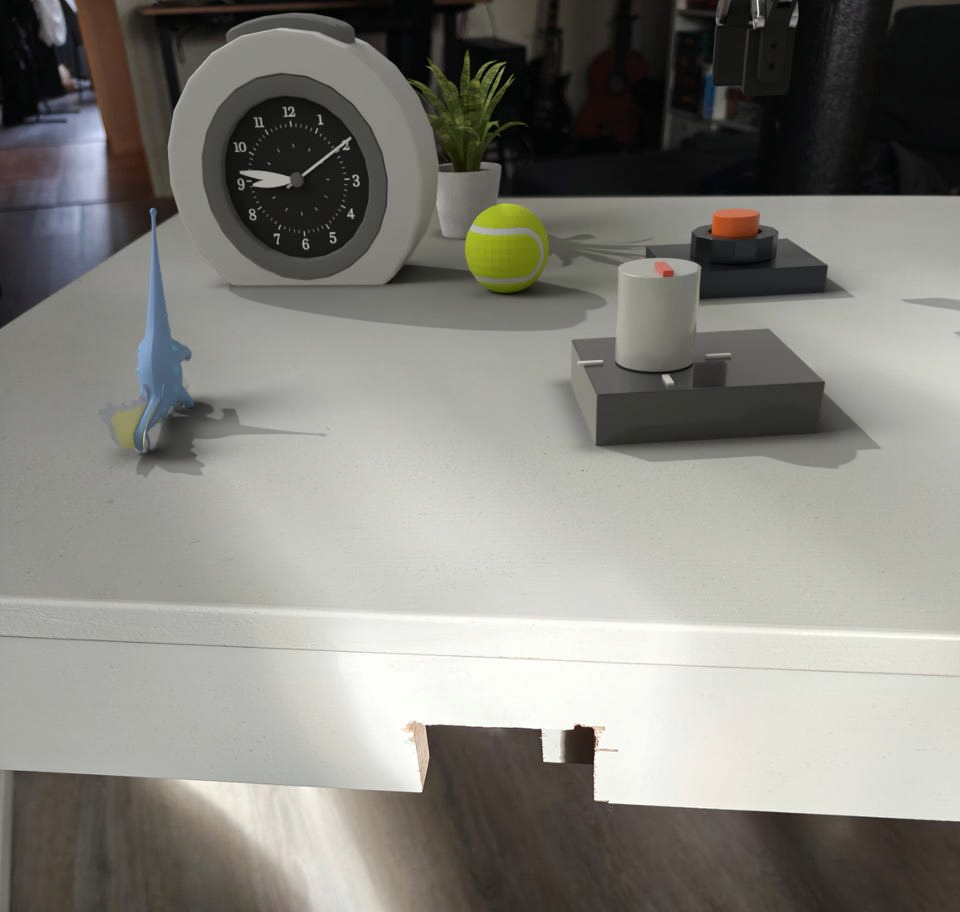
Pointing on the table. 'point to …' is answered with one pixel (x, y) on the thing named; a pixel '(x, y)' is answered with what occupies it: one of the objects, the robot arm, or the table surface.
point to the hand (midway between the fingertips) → (747, 88)
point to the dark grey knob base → (698, 391)
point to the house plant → (465, 146)
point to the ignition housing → (747, 264)
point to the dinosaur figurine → (152, 371)
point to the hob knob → (657, 314)
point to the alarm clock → (302, 157)
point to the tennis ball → (506, 248)
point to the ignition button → (735, 222)
